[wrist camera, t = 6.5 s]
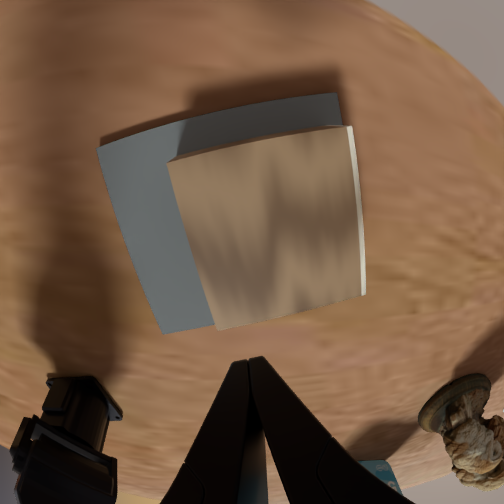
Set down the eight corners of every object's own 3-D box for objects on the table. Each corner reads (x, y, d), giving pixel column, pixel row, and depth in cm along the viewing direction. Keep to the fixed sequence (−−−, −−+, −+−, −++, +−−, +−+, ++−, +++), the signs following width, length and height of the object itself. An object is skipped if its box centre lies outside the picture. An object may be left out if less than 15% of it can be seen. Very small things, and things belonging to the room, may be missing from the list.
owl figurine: (501, 377, 34) (550, 443, 19) (456, 425, 38) (495, 493, 23) (456, 367, 30) (524, 464, 14) (398, 427, 33) (443, 523, 18)
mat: (355, 285, 23) (358, 289, 22) (163, 329, 22) (162, 334, 22) (333, 93, 17) (336, 92, 16) (99, 147, 17) (95, 148, 16)
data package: (387, 458, 38) (411, 514, 27) (370, 471, 39) (390, 525, 28) (333, 460, 35) (355, 529, 24) (315, 474, 36) (333, 539, 25)
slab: (217, 300, 21) (346, 269, 21) (217, 330, 18) (365, 294, 18) (176, 155, 17) (328, 124, 17) (166, 162, 14) (351, 126, 14)
